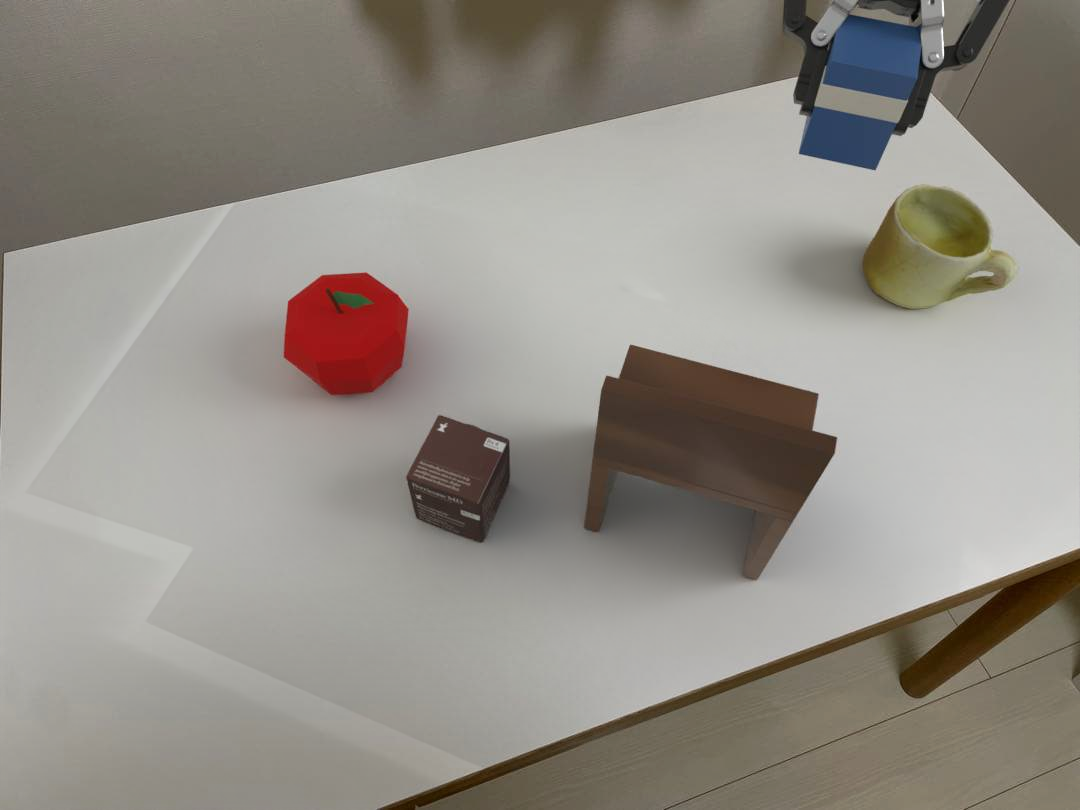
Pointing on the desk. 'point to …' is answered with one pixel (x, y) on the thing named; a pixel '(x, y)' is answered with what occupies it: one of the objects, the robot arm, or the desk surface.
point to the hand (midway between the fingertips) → (851, 122)
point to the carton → (862, 91)
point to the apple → (346, 332)
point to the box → (460, 478)
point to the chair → (710, 441)
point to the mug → (934, 250)
